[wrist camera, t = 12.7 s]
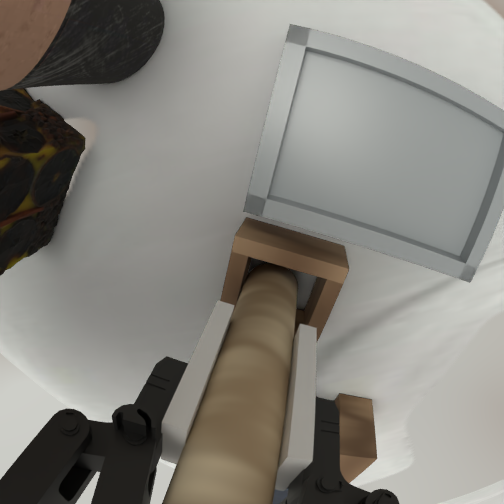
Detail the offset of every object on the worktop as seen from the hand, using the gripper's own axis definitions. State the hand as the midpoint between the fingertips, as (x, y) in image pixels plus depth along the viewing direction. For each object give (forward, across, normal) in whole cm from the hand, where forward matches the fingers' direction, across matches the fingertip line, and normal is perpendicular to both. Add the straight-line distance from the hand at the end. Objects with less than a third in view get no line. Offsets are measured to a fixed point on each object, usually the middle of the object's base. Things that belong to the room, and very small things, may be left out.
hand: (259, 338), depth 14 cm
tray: (+7, +4, +9) cm, 12 cm away
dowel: (+5, 0, 0) cm, 5 cm away
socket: (+7, 0, 0) cm, 7 cm away
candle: (+7, -20, +3) cm, 22 cm away
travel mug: (+7, -14, +13) cm, 20 cm away
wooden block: (+6, +10, -13) cm, 17 cm away
